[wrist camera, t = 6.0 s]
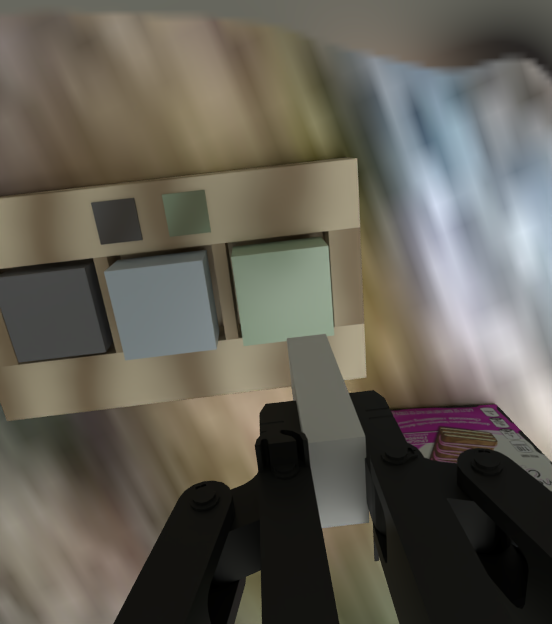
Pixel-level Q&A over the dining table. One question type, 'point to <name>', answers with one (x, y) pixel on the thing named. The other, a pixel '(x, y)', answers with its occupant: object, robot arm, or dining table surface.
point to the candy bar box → (471, 436)
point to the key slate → (163, 304)
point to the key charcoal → (54, 310)
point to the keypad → (176, 239)
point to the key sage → (283, 290)
